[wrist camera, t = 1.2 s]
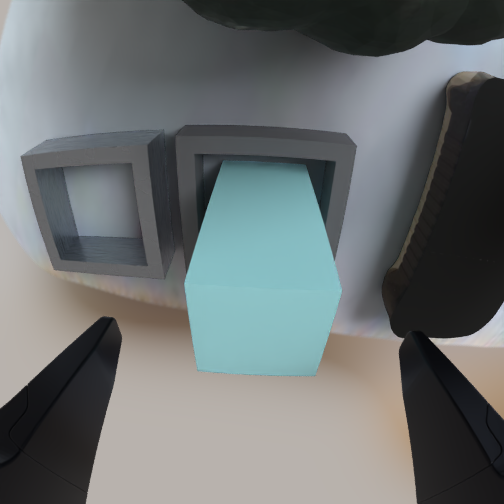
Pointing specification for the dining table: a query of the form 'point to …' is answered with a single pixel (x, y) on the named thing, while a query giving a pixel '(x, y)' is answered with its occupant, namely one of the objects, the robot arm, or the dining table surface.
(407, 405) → the robot arm
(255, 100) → the dining table surface
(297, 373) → the plug
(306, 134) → the grey square frame
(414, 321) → the black sponge
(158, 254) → the port block
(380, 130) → the dining table surface
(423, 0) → the squash
